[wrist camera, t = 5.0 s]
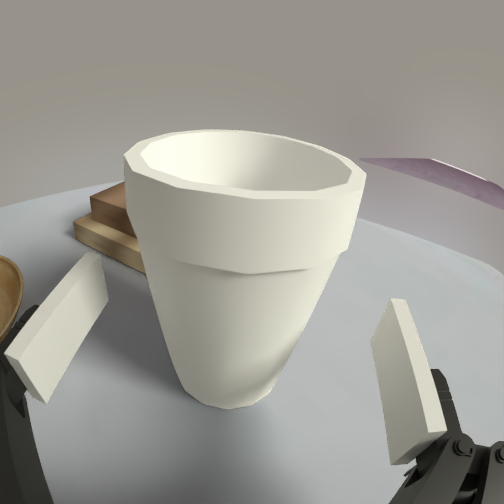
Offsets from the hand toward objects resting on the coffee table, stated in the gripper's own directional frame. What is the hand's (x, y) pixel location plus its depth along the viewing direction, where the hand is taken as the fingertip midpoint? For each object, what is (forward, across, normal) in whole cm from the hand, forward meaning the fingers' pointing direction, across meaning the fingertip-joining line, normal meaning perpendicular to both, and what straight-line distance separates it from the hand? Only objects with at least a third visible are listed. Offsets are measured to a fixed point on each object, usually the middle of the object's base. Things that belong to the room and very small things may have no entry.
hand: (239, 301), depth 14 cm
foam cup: (+2, 0, -7) cm, 7 cm away
